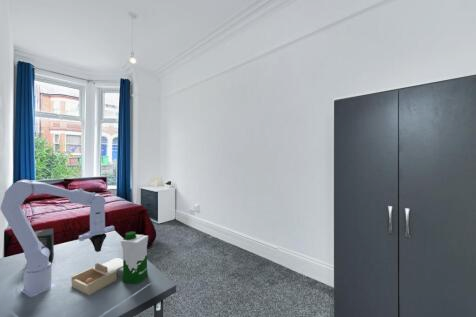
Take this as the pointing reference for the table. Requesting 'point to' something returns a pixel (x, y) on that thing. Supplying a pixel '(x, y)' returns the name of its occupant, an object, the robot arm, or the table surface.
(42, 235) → the tampon box
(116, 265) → the lid
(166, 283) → the table surface
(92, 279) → the ball
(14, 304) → the table surface
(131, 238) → the milk carton
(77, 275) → the box
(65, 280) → the table surface
